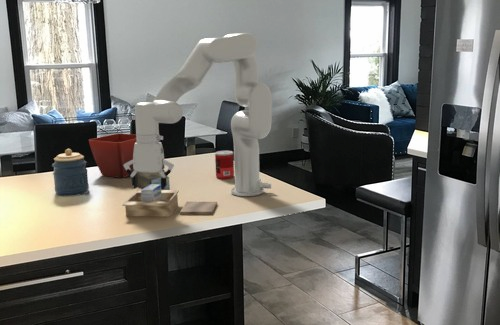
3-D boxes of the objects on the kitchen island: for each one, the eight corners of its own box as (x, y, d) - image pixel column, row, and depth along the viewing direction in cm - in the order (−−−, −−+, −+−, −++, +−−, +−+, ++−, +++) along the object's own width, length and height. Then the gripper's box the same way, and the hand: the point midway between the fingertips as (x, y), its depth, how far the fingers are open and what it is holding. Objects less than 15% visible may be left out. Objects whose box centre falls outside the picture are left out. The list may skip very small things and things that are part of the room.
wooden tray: (179, 203, 197) (179, 190, 195) (168, 219, 179) (167, 204, 178) (138, 203, 198) (137, 190, 197) (123, 218, 180) (122, 204, 179)
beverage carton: (151, 194, 210) (150, 177, 209) (134, 184, 226) (133, 169, 225) (170, 191, 214) (169, 175, 213) (152, 181, 231) (151, 166, 229)
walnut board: (217, 204, 194) (217, 201, 194) (212, 214, 183) (211, 211, 182) (187, 204, 195) (186, 201, 195) (179, 214, 184) (179, 211, 183)
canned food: (237, 176, 236) (236, 151, 233) (227, 180, 229) (226, 154, 227) (223, 174, 240) (222, 149, 237) (212, 178, 233) (211, 153, 231)
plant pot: (90, 176, 241) (87, 139, 238) (121, 167, 257) (118, 132, 254) (121, 181, 232) (118, 142, 228) (151, 171, 247) (149, 135, 244)
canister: (95, 191, 215) (91, 148, 212) (65, 198, 206) (61, 153, 202) (78, 186, 224) (74, 144, 220) (49, 193, 215) (44, 149, 211)
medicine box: (154, 214, 184) (153, 190, 182) (142, 214, 185) (140, 189, 183) (162, 207, 192) (161, 184, 190) (150, 207, 193) (149, 183, 191)
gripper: (175, 137, 186) (176, 186, 189) (126, 137, 187) (128, 185, 191) (170, 141, 178) (171, 191, 182) (119, 140, 180) (121, 190, 183)
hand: (149, 188), depth 186 cm, fingers open, 9 cm apart
